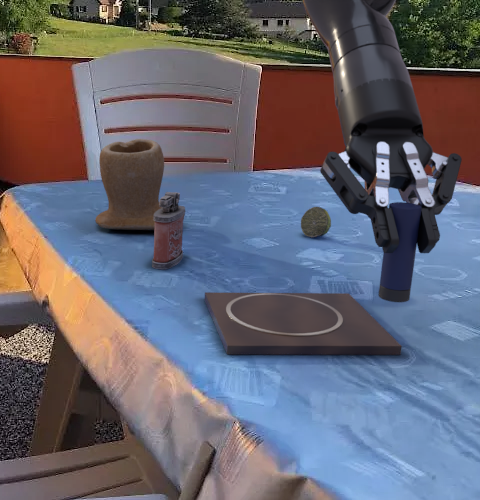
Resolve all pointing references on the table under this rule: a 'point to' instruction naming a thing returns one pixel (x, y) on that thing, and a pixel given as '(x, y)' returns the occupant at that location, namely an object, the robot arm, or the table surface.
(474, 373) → the table surface
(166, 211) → the lighter
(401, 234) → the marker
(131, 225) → the stone cup
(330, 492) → the table surface
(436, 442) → the table surface
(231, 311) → the brown wooden board
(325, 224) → the lime
